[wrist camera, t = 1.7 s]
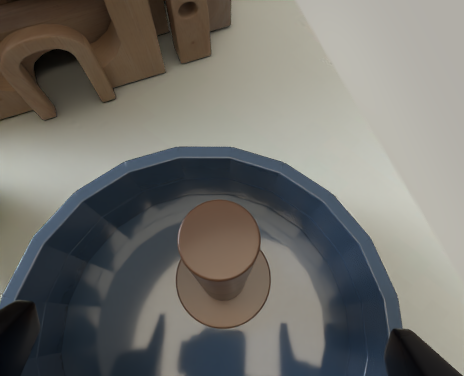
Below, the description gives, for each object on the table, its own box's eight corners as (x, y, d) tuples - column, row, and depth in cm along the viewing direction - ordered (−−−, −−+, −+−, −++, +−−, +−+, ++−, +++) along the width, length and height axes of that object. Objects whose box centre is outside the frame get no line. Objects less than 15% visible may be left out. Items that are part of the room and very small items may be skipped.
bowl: (409, 439, 17) (487, 490, 12) (86, 570, 15) (14, 697, 10) (291, 158, 22) (311, 107, 17) (37, 233, 20) (-28, 204, 15)
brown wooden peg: (282, 310, 18) (340, 300, 9) (191, 342, 18) (151, 366, 8) (252, 222, 20) (273, 136, 11) (167, 249, 19) (109, 182, 10)
